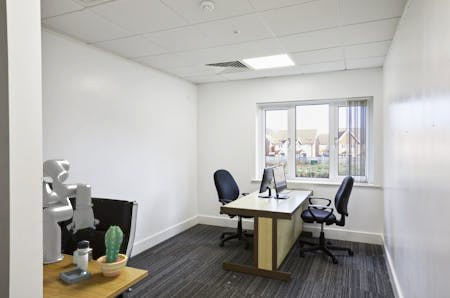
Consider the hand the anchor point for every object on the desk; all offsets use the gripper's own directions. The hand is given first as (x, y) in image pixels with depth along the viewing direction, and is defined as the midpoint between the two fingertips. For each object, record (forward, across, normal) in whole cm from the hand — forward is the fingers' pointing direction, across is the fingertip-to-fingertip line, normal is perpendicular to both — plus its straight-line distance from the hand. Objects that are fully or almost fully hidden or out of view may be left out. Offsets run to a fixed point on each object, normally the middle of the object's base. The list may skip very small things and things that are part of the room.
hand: (83, 238), depth 159 cm
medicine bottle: (+17, -5, -11) cm, 21 cm away
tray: (+17, +8, +8) cm, 21 cm away
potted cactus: (+18, -7, +17) cm, 26 cm away
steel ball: (+17, +6, +12) cm, 21 cm away
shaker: (+17, 0, -1) cm, 17 cm away
